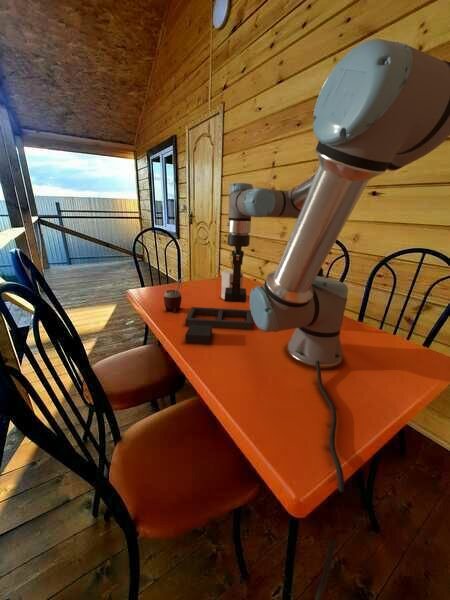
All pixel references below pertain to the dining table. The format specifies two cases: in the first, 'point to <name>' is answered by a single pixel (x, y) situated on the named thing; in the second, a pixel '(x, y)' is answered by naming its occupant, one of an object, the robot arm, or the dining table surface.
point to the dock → (220, 318)
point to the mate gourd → (173, 299)
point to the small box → (228, 281)
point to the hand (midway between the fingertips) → (235, 298)
